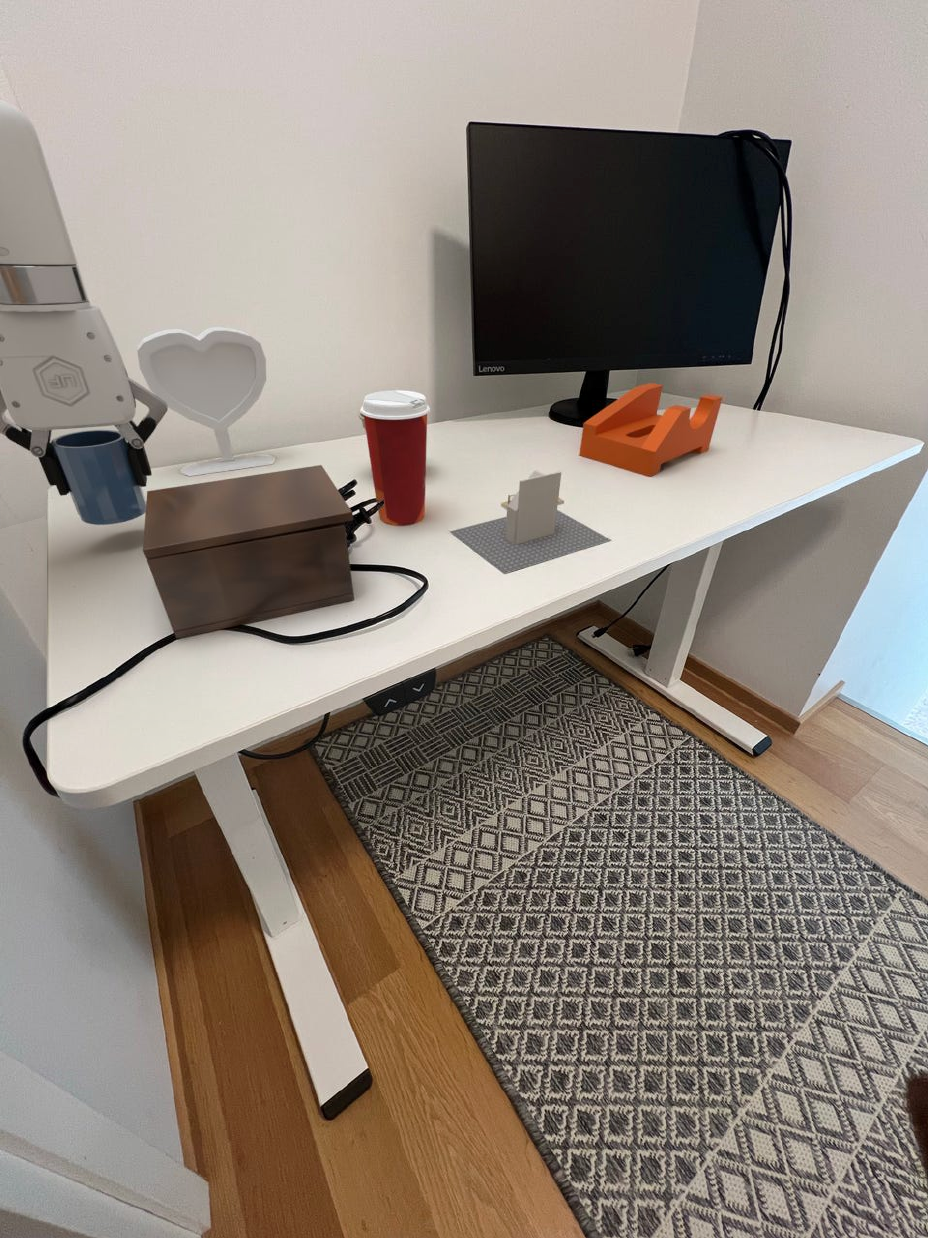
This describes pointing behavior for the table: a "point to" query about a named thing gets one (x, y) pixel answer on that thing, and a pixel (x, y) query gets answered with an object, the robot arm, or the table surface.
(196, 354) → the heart sculpture
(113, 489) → the cup
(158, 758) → the table surface
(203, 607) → the box
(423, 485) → the paper cup
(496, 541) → the architectural model
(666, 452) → the orange notched block
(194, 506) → the box lid
